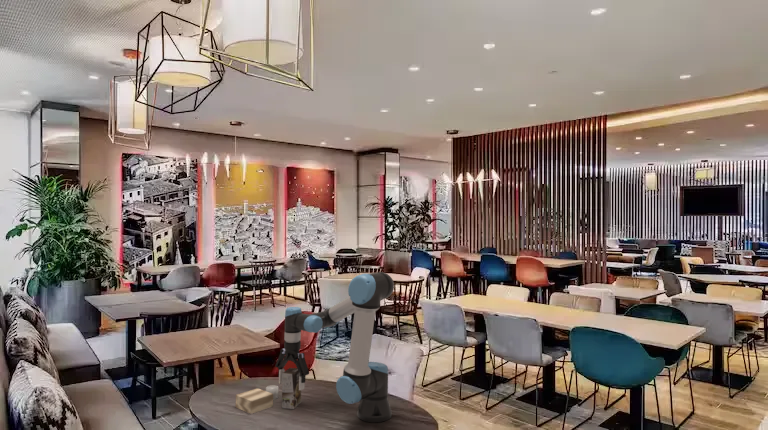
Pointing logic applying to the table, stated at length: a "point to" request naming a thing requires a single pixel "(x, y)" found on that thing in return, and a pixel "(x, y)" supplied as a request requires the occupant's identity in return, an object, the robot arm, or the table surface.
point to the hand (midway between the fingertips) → (291, 386)
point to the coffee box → (290, 388)
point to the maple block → (254, 400)
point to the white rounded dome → (273, 390)
